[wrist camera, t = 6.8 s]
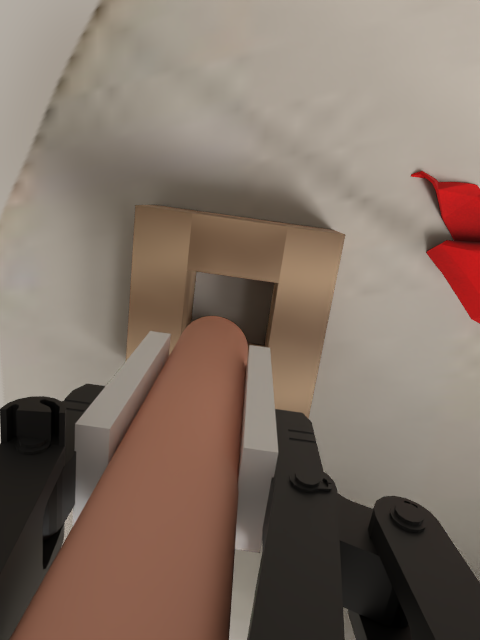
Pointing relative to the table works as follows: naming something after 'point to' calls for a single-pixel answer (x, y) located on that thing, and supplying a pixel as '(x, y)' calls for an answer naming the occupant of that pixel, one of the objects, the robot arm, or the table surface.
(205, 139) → the table surface
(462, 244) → the cloth
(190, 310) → the square frame
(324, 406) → the table surface
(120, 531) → the dowel
